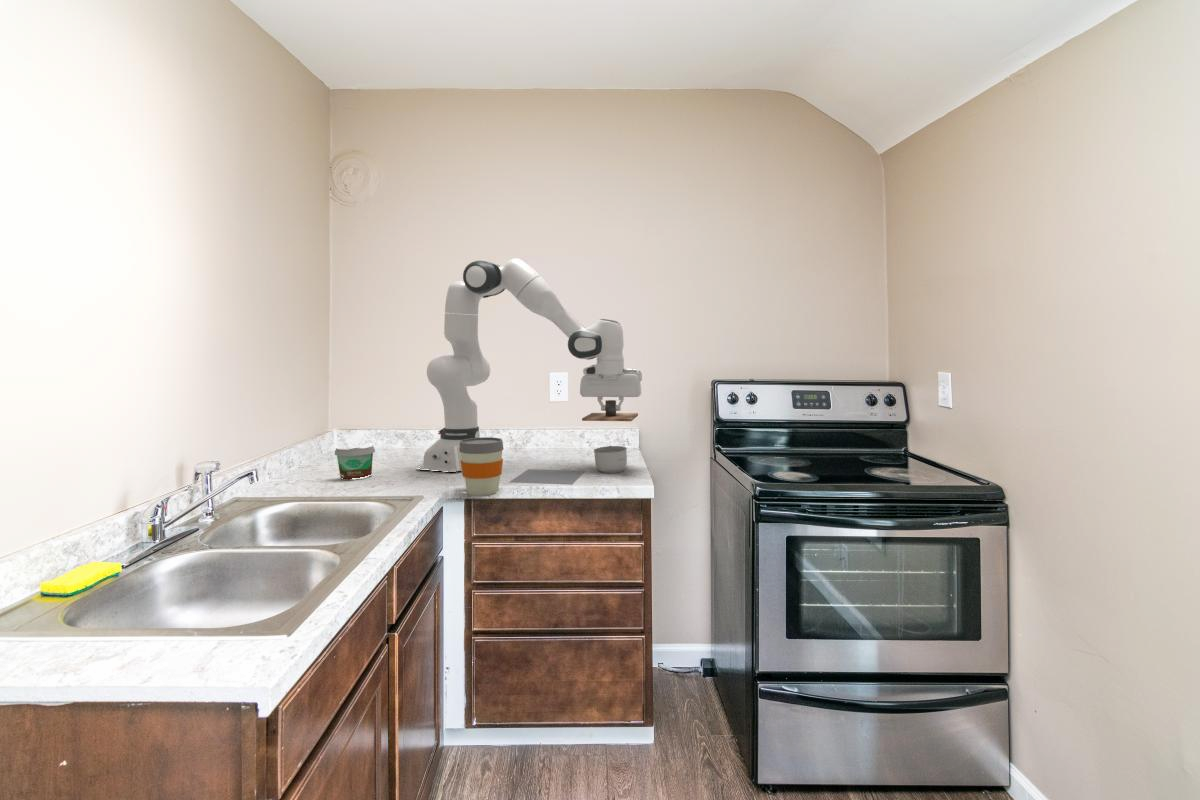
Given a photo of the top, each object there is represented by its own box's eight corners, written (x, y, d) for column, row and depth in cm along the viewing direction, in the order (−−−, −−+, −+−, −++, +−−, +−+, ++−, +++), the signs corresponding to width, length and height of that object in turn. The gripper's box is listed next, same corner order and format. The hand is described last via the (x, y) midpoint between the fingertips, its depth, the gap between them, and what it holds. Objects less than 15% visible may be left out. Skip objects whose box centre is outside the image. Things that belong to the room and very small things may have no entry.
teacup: (624, 475, 198) (623, 451, 198) (591, 474, 200) (590, 450, 200) (630, 467, 212) (630, 444, 211) (599, 466, 214) (599, 443, 213)
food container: (337, 482, 193) (335, 451, 192) (335, 479, 198) (334, 448, 197) (378, 478, 199) (377, 447, 198) (376, 474, 204) (374, 444, 203)
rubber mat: (508, 483, 189) (508, 482, 189) (528, 470, 208) (528, 469, 208) (572, 485, 185) (572, 484, 185) (586, 472, 205) (586, 470, 205)
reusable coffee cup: (504, 485, 186) (502, 436, 185) (505, 495, 174) (503, 443, 172) (461, 487, 184) (460, 438, 183) (459, 498, 172) (457, 444, 170)
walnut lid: (582, 420, 198) (581, 402, 198) (592, 415, 214) (591, 398, 213) (631, 421, 195) (631, 403, 195) (637, 415, 211) (637, 398, 210)
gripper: (642, 368, 204) (643, 409, 205) (582, 368, 208) (583, 409, 209) (640, 369, 198) (640, 411, 199) (578, 369, 202) (579, 411, 203)
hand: (610, 410), depth 204 cm, fingers closed on walnut lid, 3 cm apart
